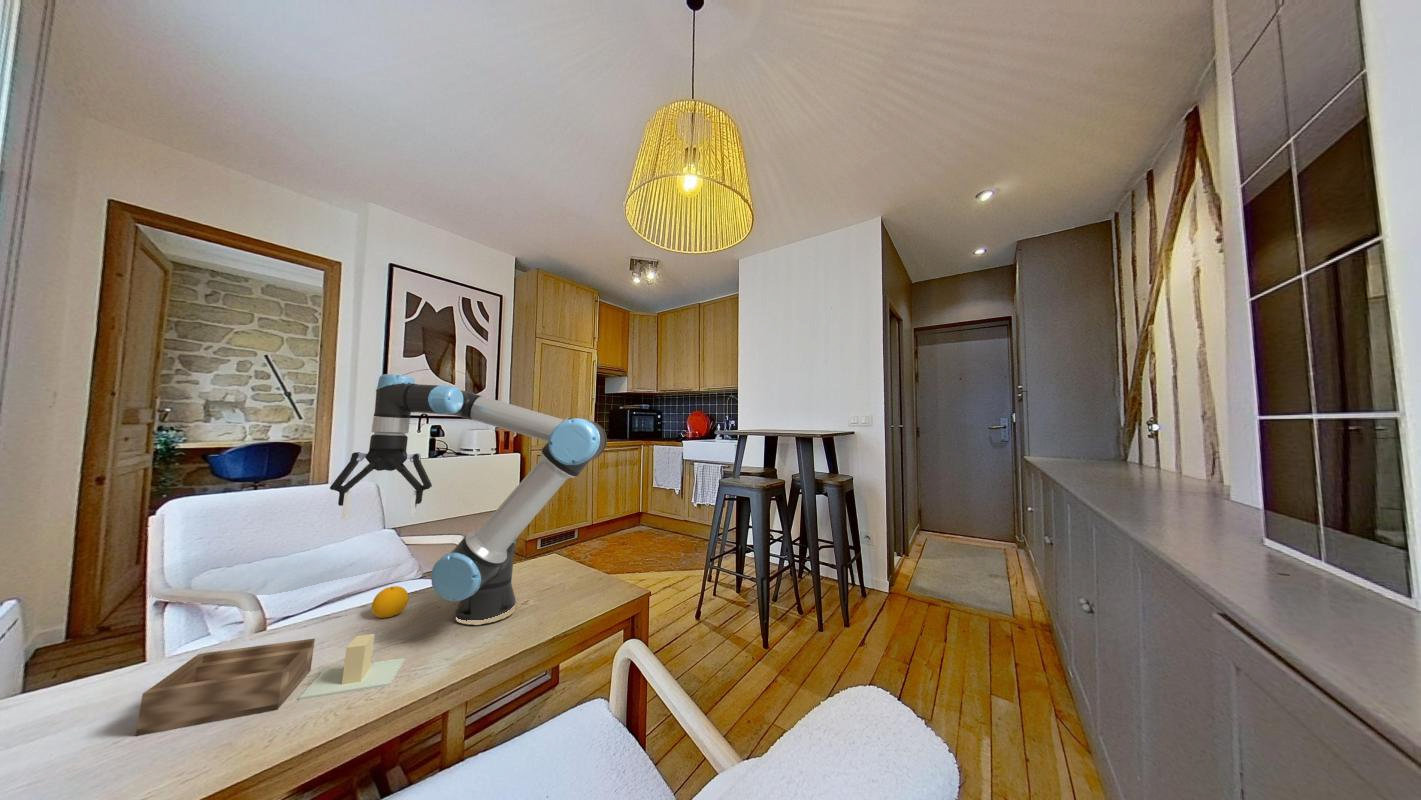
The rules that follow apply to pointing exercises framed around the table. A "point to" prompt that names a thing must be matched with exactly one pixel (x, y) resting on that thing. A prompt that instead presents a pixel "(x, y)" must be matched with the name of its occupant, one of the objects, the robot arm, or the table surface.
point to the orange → (390, 602)
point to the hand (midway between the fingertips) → (379, 517)
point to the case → (225, 686)
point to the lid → (355, 671)
